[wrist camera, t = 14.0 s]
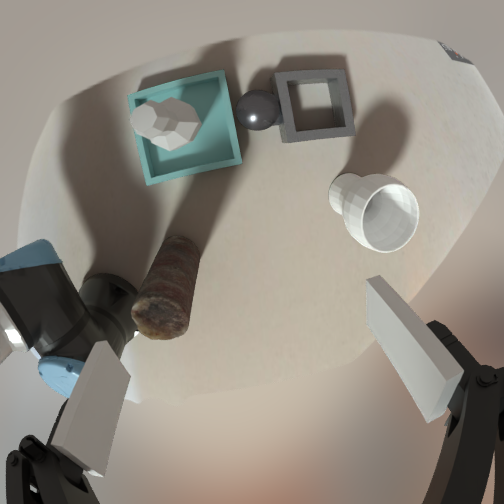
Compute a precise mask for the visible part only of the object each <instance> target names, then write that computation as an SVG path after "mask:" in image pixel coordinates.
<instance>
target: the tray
mask: <svg viewBox="0 0 504 504" xmlns="http://www.w3.org/2000/svg"><path fill="white" fill-rule="evenodd" d="M127 96H128V102H129V108H130V113H131V115H132V112H133V110H134V109H135V108H137V107H139V106H141V105H142V104H144V103H146V102H147V101H149V100H152V101H155V102H157V103H160V102H162V101H164V100H166V99H168V98H170V97H173V98H175V99H178V100H180V101H183V102H185V103H187V104H190V105H191V106H192V107H193V108H194V109H195V111H196V113H197V115H198V117H199V119H200V121H201V123H202V125H201V127H200V129H199V131H198V133H197V135H196V137H195V139H194V141H192V142H190V143H188V144H186V145H184V146H182V147H180V148H179V149H177V150H173V151H168V150H166V149H164V148H162V147H159V146H157V145H155V144H153V143H151V141H150V139H148V138H145V137H143V136H141V135H138V134H136V132H135V130H134V133H135V138H136V143H137V147H138V152H139V156H140V161H141V165H142V169H143V173H144V177H145V181H146V185H147V186H149V185H152V184H156V183H160V182H163V181H167V180H171V179H175V178H179V177H183V176H187V175H192V174H196V173H200V172H205V171H209V170H214V169H219V168H223V167H228V166H233V165H238V164H242V159H241V154H240V149H239V144H238V139H237V134H236V128H235V123H234V118H233V113H232V108H231V103H230V98H229V93H228V88H227V83H226V78H225V73H224V69H223V70H218V71H213V72H208V73H203V74H199V75H195V76H190V77H186V78H182V79H179V80H175V81H171V82H168V83H164V84H161V85H157V86H154V87H151V88H148V89H145V90H142V91H139V92H136V93H133V94H130V95H127Z"/></svg>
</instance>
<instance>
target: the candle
mask: <svg viewBox="0 0 504 504" xmlns="http://www.w3.org/2000/svg"><path fill="white" fill-rule="evenodd" d="M199 262H200V253H199V251H198V249H197V247H196V246H195V244H194V243H193V242H192V241H190V240H188V239H186V238H184V237H179V236H177V237H176V236H175V237H169V238H168V239H166V240H165V241H164V243H163V244H162V246H161V247H160V249H159V251H158V253H157V255H156V257H155V259H154V262H153V264H152V266H151V268H150V270H149V272H148V274H147V276H146V278H145V280H144V282H143V284H142V287H141V289H140V291H139V293H138V295H137V297H136V299H135V301H134V303H133V305H132V310H131V315H132V319H133V320H134V321H135V323H136V325H137V327H138V330H139V331H140V333H142V334H143V335H144V336H146V337H148V338H150V339H152V340H158V339H159V340H169V339H172V338H175V337H179V336H181V335H183V334H184V333H185V332H186V331H187V329H188V326H189V321H190V313H191V307H192V301H193V296H194V290H195V284H196V279H197V274H198V268H199Z"/></svg>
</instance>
